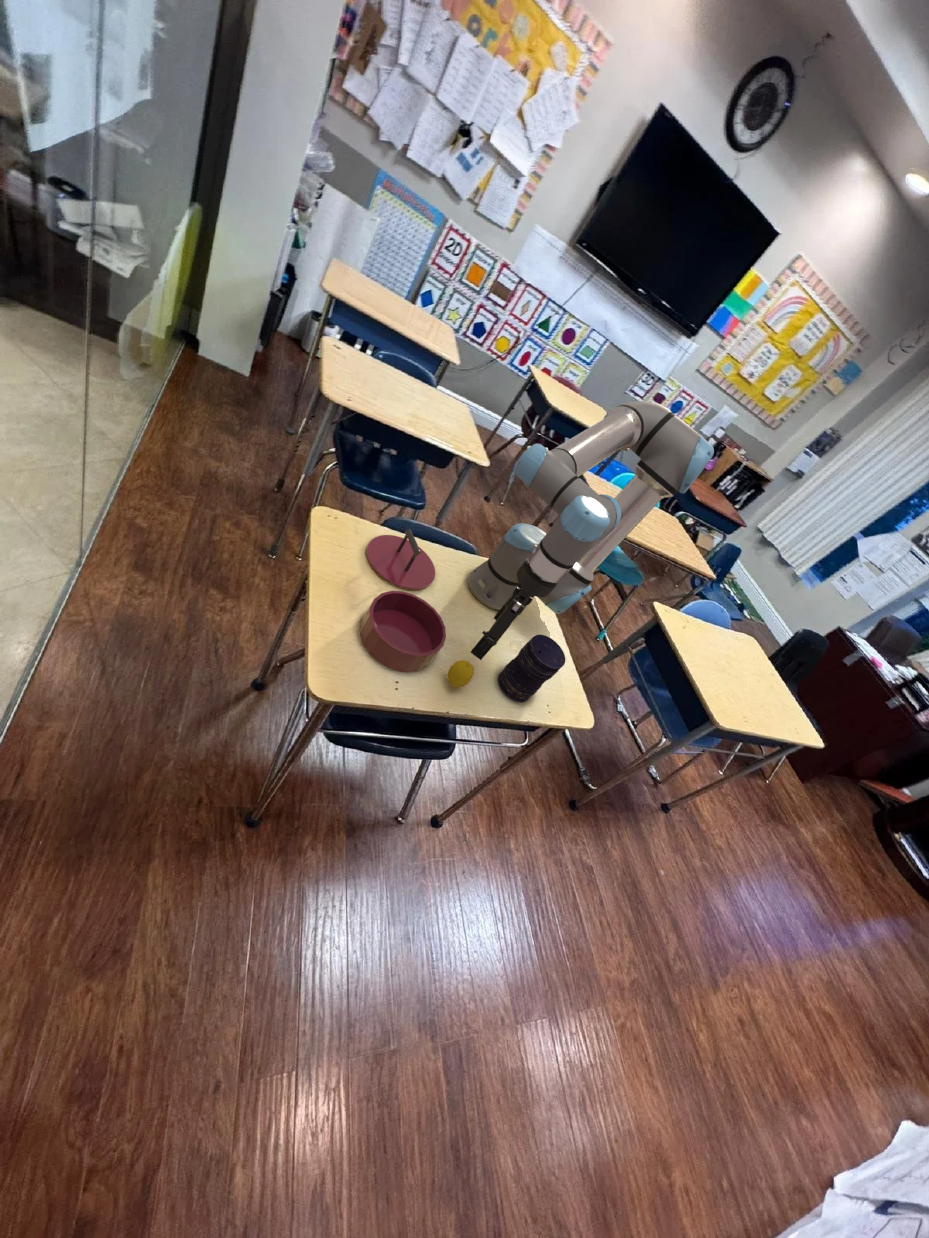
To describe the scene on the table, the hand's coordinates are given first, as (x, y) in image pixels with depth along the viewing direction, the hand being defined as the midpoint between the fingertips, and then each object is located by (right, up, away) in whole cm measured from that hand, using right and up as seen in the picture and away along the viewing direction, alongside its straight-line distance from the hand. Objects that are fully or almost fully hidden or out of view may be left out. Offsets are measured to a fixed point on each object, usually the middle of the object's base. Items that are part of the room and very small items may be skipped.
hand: (487, 637), depth 109 cm
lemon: (-8, -11, +10) cm, 17 cm away
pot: (-20, -1, +10) cm, 23 cm away
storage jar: (+7, -13, +19) cm, 25 cm away
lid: (-22, +19, +28) cm, 40 cm away
